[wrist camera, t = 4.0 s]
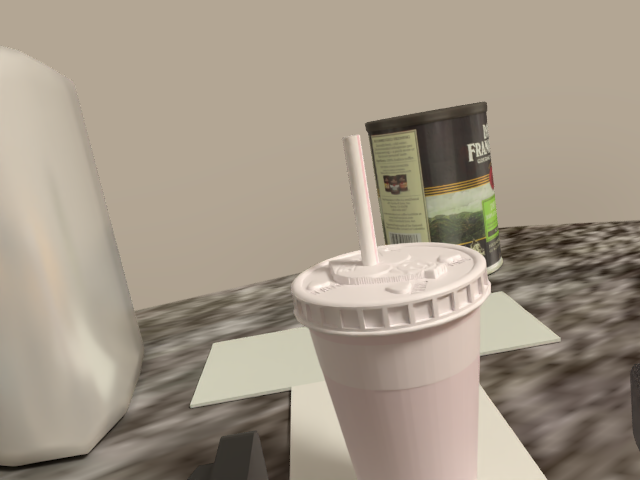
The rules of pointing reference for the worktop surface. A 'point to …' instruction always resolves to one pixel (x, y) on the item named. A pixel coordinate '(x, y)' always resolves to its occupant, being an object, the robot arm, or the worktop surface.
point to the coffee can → (437, 179)
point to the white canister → (57, 276)
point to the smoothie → (398, 346)
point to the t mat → (317, 408)
